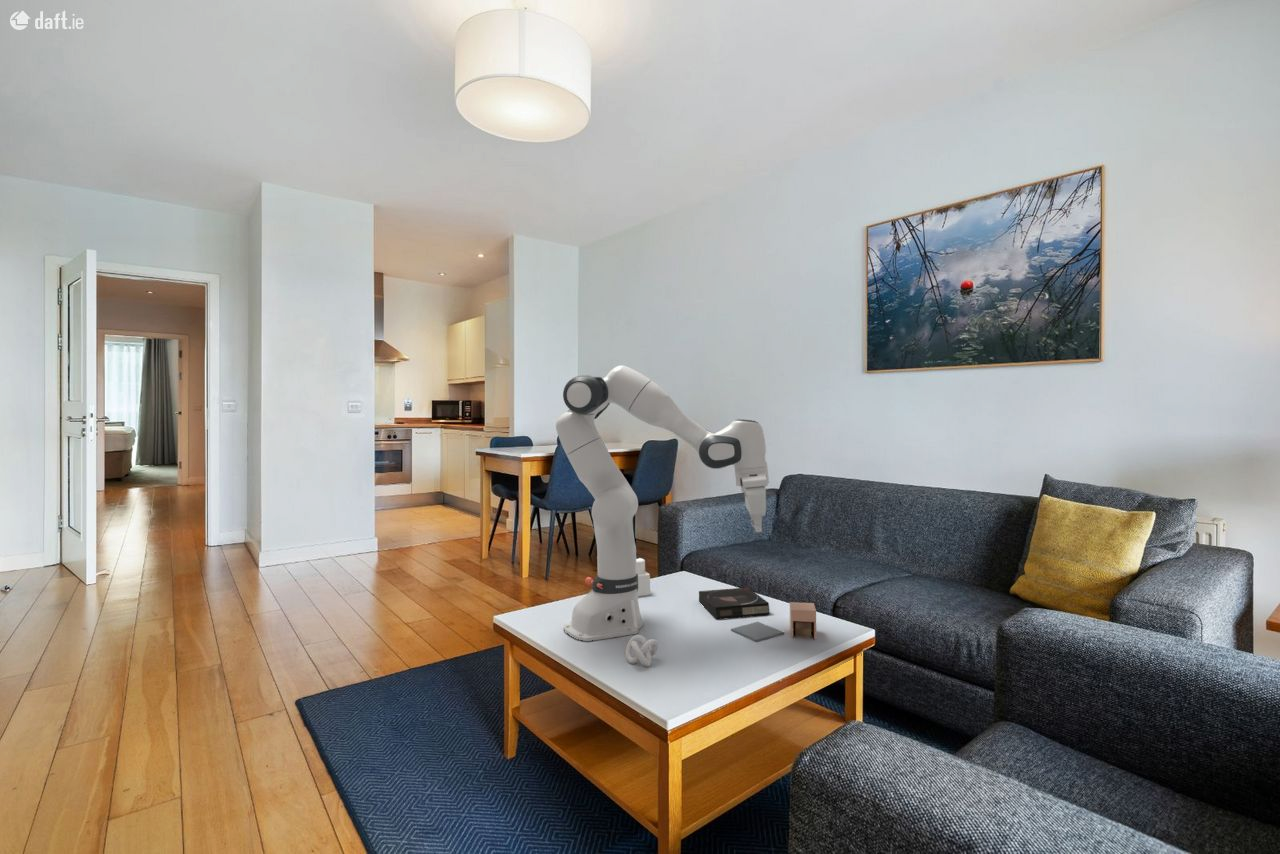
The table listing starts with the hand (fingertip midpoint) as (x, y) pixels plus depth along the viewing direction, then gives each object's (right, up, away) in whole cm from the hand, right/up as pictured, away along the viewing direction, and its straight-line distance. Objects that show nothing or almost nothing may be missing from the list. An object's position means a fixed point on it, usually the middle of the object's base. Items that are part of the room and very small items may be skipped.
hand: (756, 529), depth 164 cm
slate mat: (0, -28, 0) cm, 28 cm away
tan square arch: (+12, -28, -1) cm, 30 cm away
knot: (-31, -29, -18) cm, 46 cm away
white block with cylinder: (-33, -28, +38) cm, 57 cm away
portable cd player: (-3, -28, +21) cm, 35 cm away
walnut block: (+12, -28, -1) cm, 31 cm away
